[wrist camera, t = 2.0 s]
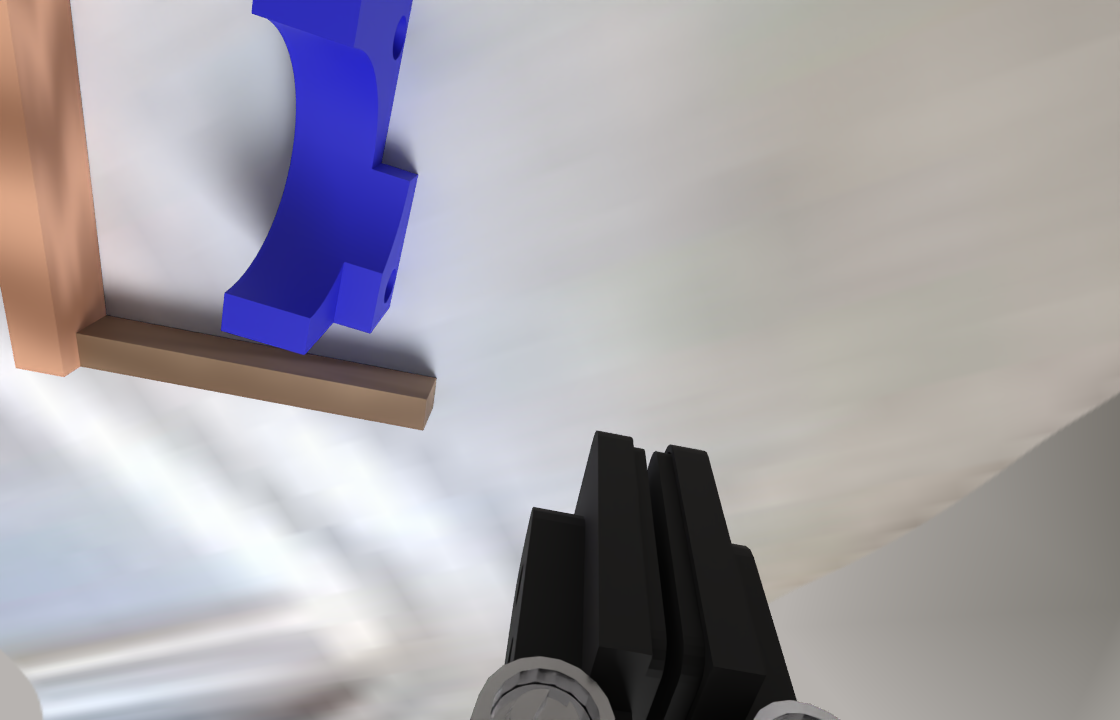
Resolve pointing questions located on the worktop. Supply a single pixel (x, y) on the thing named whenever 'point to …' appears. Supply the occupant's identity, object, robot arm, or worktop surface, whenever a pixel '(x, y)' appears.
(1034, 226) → the worktop surface
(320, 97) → the cable clip
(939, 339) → the worktop surface
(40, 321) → the guide channel
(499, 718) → the robot arm
